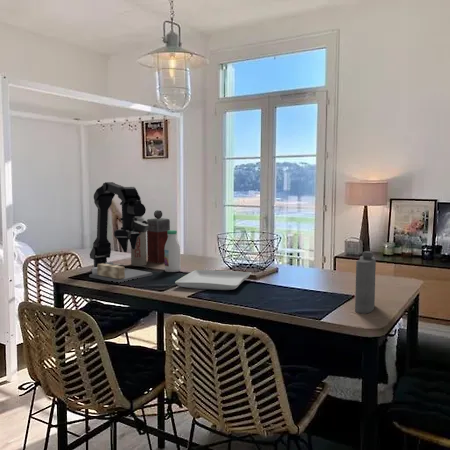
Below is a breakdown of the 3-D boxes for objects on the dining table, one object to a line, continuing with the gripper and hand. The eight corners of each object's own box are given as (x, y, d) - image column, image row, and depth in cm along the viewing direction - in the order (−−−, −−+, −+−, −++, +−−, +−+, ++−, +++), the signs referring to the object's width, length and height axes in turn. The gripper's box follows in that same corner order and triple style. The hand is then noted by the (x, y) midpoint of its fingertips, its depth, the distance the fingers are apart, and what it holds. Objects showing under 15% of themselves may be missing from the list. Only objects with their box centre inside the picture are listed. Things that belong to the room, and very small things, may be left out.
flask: (371, 314, 158) (373, 255, 156) (354, 312, 160) (355, 254, 158) (376, 303, 172) (377, 249, 170) (359, 302, 174) (361, 248, 172)
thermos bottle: (142, 266, 245) (141, 212, 242) (128, 265, 247) (127, 212, 244) (149, 263, 252) (148, 211, 250) (135, 262, 255) (134, 211, 252)
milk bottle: (181, 269, 236) (181, 229, 234) (178, 272, 229) (178, 231, 227) (166, 269, 237) (166, 229, 235) (163, 272, 229) (162, 231, 227)
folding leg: (97, 274, 216) (97, 264, 216) (102, 273, 219) (102, 263, 218) (119, 279, 208) (119, 267, 207) (124, 277, 210) (124, 266, 209)
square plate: (252, 279, 214) (252, 271, 214) (237, 294, 188) (237, 284, 188) (195, 276, 221) (195, 268, 221) (173, 290, 195) (173, 280, 195)
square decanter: (157, 258, 267) (156, 209, 264) (170, 261, 259) (169, 210, 256) (144, 261, 260) (143, 210, 257) (158, 263, 253) (157, 211, 250)
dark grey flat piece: (87, 276, 220) (86, 265, 219) (120, 269, 236) (120, 259, 235) (118, 282, 207) (118, 271, 206) (152, 275, 223) (152, 264, 222)
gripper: (138, 217, 197) (139, 254, 198) (153, 214, 215) (154, 247, 217) (113, 217, 199) (114, 253, 201) (130, 213, 217) (131, 247, 219)
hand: (129, 250), depth 209 cm, fingers open, 9 cm apart
